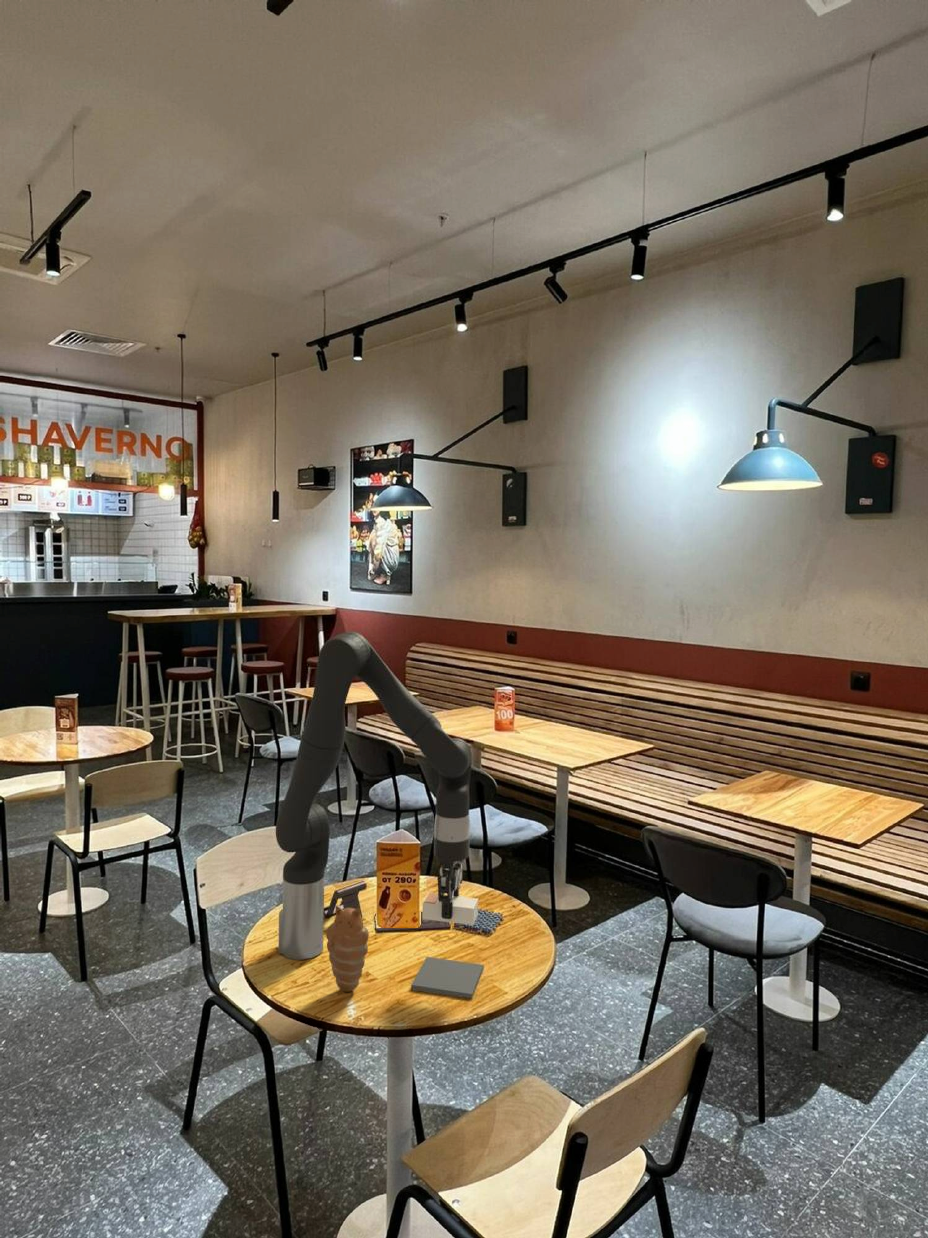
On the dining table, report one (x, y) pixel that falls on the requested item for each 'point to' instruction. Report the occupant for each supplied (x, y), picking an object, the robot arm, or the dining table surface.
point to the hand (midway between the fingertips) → (450, 912)
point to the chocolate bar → (424, 926)
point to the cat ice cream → (347, 947)
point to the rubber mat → (448, 977)
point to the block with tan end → (462, 909)
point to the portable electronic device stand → (345, 898)
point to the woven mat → (482, 923)
